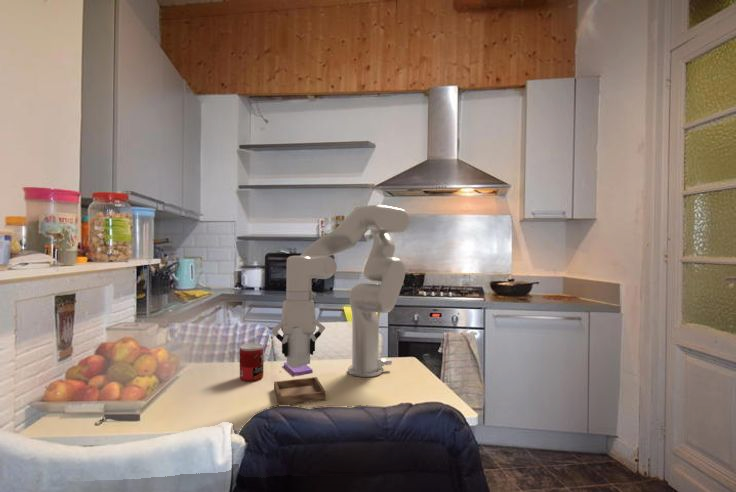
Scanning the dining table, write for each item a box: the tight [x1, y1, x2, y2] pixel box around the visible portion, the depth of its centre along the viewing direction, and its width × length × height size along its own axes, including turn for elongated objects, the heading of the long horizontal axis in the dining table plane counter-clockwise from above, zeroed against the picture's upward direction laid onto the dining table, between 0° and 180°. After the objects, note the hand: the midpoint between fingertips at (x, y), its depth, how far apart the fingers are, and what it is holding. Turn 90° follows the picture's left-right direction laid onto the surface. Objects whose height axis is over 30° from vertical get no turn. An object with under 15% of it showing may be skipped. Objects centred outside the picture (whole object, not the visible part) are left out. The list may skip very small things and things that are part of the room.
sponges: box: [283, 361, 314, 377], centre depth 146 cm, size 7×13×2 cm, turn 29°
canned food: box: [239, 342, 264, 383], centre depth 136 cm, size 8×8×11 cm
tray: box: [273, 376, 327, 406], centre depth 122 cm, size 14×14×2 cm
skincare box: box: [286, 327, 311, 368], centre depth 121 cm, size 6×4×12 cm
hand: (298, 354), depth 121 cm, fingers closed on skincare box, 7 cm apart
